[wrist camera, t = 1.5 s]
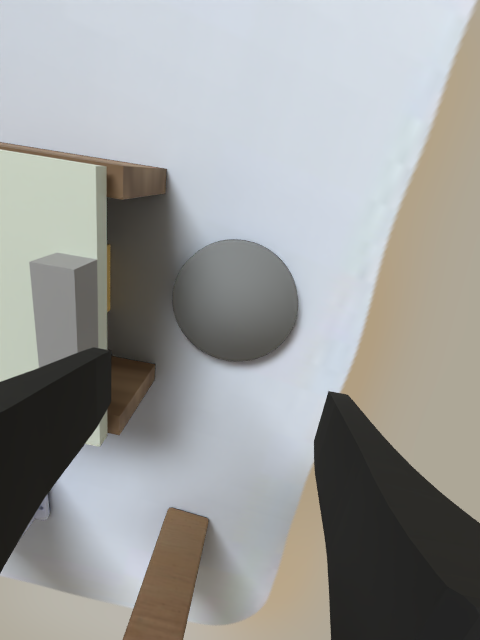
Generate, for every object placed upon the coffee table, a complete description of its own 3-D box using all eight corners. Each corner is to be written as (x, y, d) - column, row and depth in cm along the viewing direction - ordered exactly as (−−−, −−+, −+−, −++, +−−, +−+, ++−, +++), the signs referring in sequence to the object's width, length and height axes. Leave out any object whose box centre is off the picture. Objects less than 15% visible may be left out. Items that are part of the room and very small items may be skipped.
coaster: (284, 364, 21) (284, 370, 21) (172, 343, 22) (168, 349, 21) (309, 251, 19) (310, 254, 18) (181, 229, 19) (177, 231, 18)
